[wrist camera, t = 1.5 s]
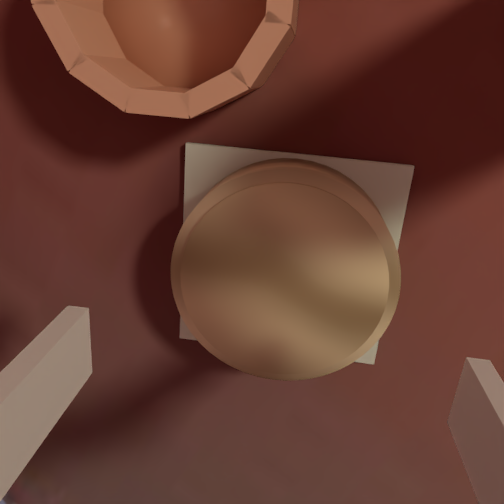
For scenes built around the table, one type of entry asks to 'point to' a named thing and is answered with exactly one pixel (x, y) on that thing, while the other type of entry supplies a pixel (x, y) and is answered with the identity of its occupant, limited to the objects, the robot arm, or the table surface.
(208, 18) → the terracotta bowl
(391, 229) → the silicone mat
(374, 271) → the brass lid
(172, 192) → the table surface
